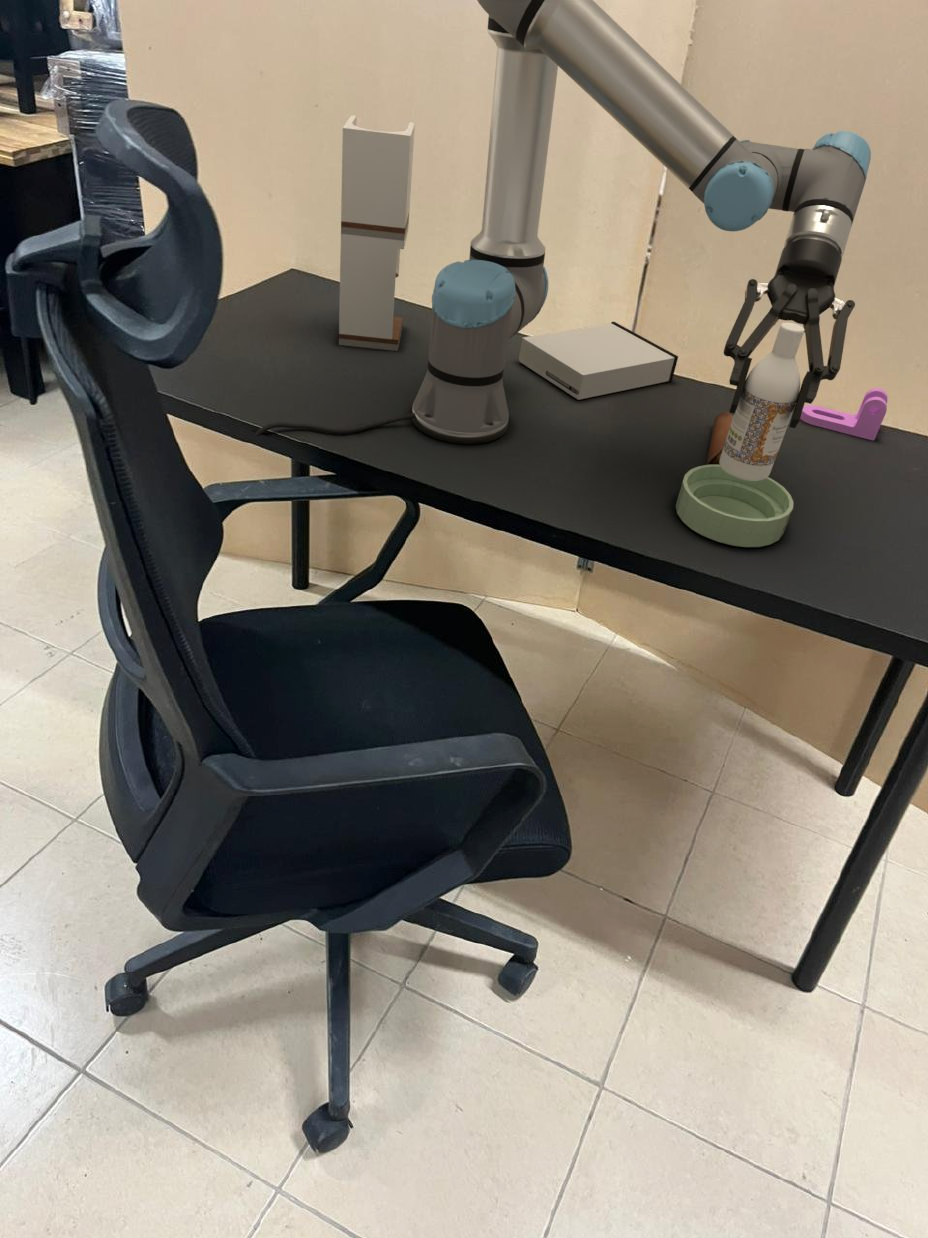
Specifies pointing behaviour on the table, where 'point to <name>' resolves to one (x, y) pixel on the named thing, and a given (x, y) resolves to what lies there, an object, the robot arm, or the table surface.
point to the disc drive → (597, 360)
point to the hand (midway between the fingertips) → (763, 415)
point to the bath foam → (764, 410)
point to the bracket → (851, 416)
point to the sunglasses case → (719, 437)
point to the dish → (733, 507)
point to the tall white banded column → (373, 232)
